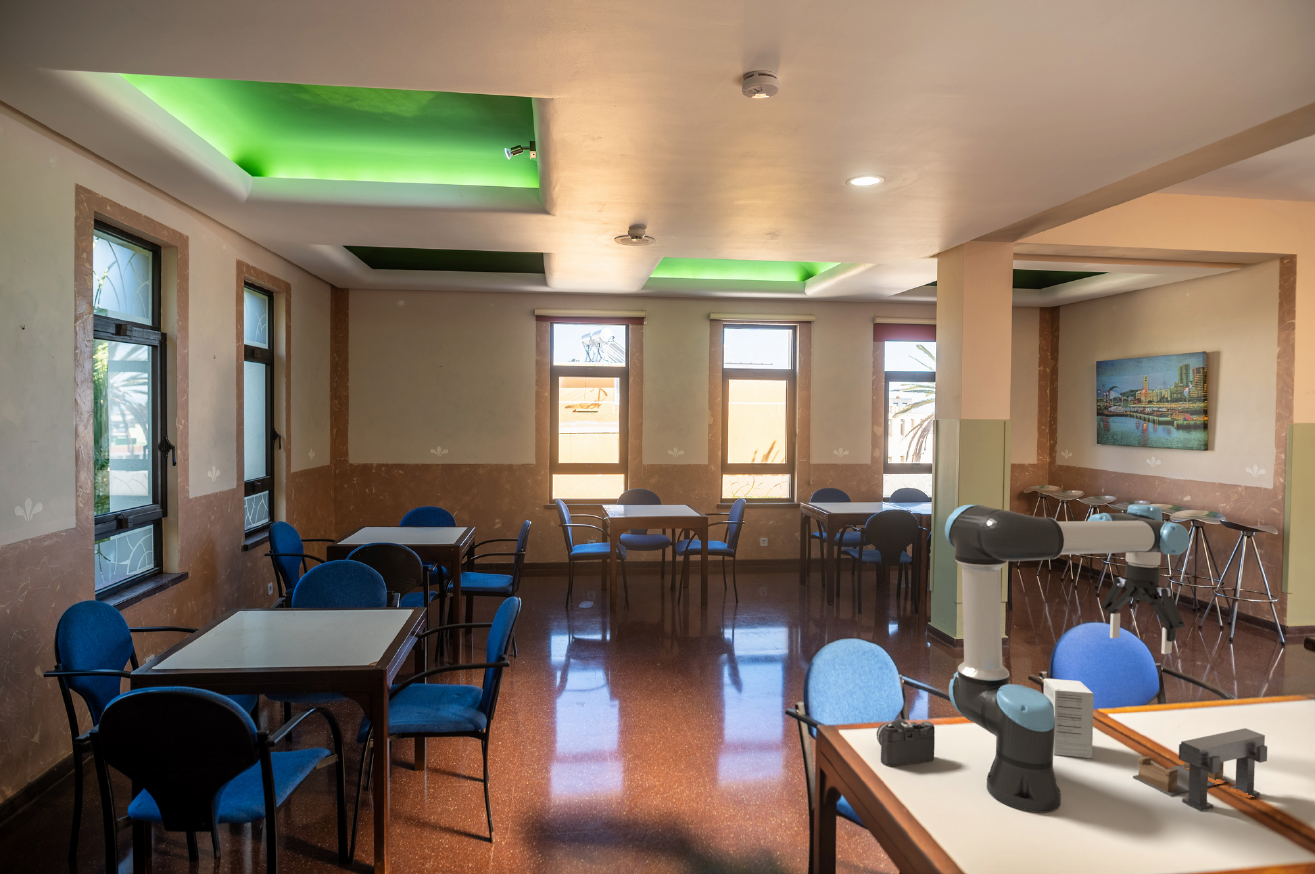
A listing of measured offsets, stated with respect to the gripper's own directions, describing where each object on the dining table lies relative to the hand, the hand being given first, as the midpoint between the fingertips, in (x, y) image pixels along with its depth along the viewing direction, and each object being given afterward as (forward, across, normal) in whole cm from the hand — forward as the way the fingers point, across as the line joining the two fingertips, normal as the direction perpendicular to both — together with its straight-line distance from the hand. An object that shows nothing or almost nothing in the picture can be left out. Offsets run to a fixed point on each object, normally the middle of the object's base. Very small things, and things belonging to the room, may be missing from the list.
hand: (1139, 645), depth 187 cm
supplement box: (+28, +6, +17) cm, 33 cm away
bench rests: (+27, -15, +6) cm, 32 cm away
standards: (+27, -24, +6) cm, 37 cm away
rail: (+17, -24, +6) cm, 30 cm away
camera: (+28, +18, +61) cm, 70 cm away
